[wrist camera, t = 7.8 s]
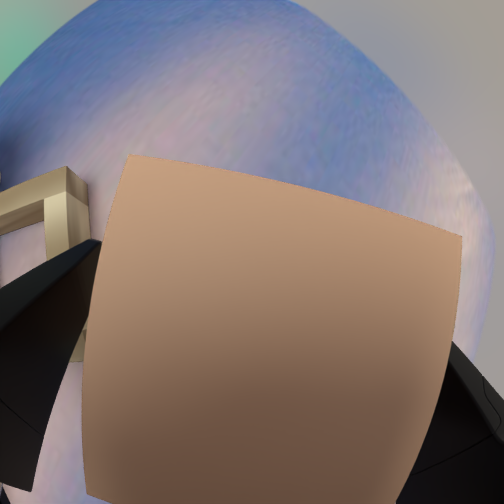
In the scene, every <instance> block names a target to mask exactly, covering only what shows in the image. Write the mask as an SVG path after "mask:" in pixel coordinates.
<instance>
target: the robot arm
mask: <svg viewBox="0 0 504 504" xmlns="http://www.w3.org/2000/svg"><path fill="white" fill-rule="evenodd" d="M101 246H102V242H101V241H98V240H94V239H87V240H85V241H83V242H81V243H79V244H78V245H76V246H74V247H72V248H70V249H68V250H66V251H64V252H63V253H61V254H59V255H57V256H55V257H53V258H52V259H50V260H48V261H46V262H44V263H43V264H41V265H39V266H37V267H36V268H34V269H32V270H30V271H29V272H27V273H25V274H24V275H22V276H20V277H19V278H17V279H15V280H14V281H12V282H10V283H9V284H7V285H5V286H4V287H2V288H1V289H0V504H10V502H9V499H8V497H7V495H6V493H5V491H4V489H3V487H2V486H3V483H4V484H6V485H9V486H12V487H15V488H18V489H22V490H25V491H28V492H31V491H32V487H33V482H34V477H35V472H36V467H37V463H38V459H39V454H40V450H41V447H42V443H43V439H44V435H45V431H46V428H47V424H48V421H49V418H50V414H51V411H52V408H53V405H54V402H55V399H56V396H57V393H58V390H59V388H60V385H61V382H62V379H63V377H64V374H65V371H66V369H67V366H68V363H69V361H70V358H71V356H72V353H73V351H74V349H75V346H76V344H77V341H78V339H79V337H80V334H81V332H82V330H83V328H84V325H85V323H86V321H87V318H88V316H89V310H90V303H91V297H92V291H93V285H94V280H95V275H96V270H97V265H98V260H99V255H100V251H101ZM396 504H504V400H503V399H502V397H501V396H500V395H499V394H498V393H497V392H496V391H495V389H494V388H493V387H492V386H491V385H490V383H489V382H488V381H487V380H486V379H485V377H484V376H482V374H481V373H480V372H479V371H478V369H477V368H476V367H475V366H474V365H473V364H472V362H471V361H470V360H469V359H468V358H467V357H466V356H465V354H464V353H463V352H462V351H461V350H460V349H459V348H458V347H457V346H456V345H455V343H454V342H453V341H452V343H451V348H450V353H449V358H448V362H447V367H446V371H445V375H444V379H443V383H442V386H441V390H440V394H439V397H438V400H437V404H436V407H435V410H434V413H433V416H432V419H431V422H430V425H429V428H428V431H427V433H426V436H425V439H424V441H423V444H422V446H421V449H420V451H419V454H418V456H417V458H416V461H415V463H414V465H413V467H412V470H411V472H410V474H409V476H408V478H407V480H406V482H405V484H404V486H403V488H402V490H401V492H400V494H399V496H398V498H397V500H396Z"/></svg>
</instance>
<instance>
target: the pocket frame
mask: <svg viewBox="0 0 504 504" xmlns="http://www.w3.org/2000/svg"><path fill="white" fill-rule="evenodd" d="M43 220H44V225H45V243H46V256H47V261H48V260H50V259H52V258H53V257H55V256H57V255H59V254H61V253H63V252H64V251H66V250H68V249H70V248H72V247H74V246H76V245H78V244H79V243H81V242H83V241H85V240H87V239H91V235H90V224H89V210H88V191H87V184H86V183H85V182H84V181H83V180H82V179H81V178H79V177H78V176H77V175H76V174H75V173H74V172H73V171H72V170H70V169H69V168H68V167H67V166H64V167H62V168H59V169H56V170H53V171H51V172H48V173H45V174H43V175H40V176H38V177H35V178H33V179H30V180H28V181H25V182H23V183H20V184H18V185H16V186H14V187H11V188H9V189H7V190H5V191H2V192H0V235H3V234H6V233H9V232H11V231H14V230H17V229H20V228H23V227H25V226H28V225H31V224H34V223H37V222H40V221H43ZM88 317H89V316H88ZM87 324H88V318H87V321H86V323H85V325H84V328H83V330H82V332H81V334H80V337H79V339H78V341H77V344H76V346H75V349H74V351H73V353H72V356H71V358H70V361H69V363H70V362H81V361H84V352H85V342H86V333H87Z"/></svg>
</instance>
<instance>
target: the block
mask: <svg viewBox="0 0 504 504" xmlns="http://www.w3.org/2000/svg"><path fill="white" fill-rule="evenodd" d="M461 256H462V236H459V235H457V234H454V233H451V232H449V231H446V230H443V229H440V228H438V227H435V226H432V225H429V224H426V223H423V222H420V221H418V220H415V219H412V218H409V217H406V216H403V215H399V214H396V213H393V212H390V211H387V210H384V209H380V208H377V207H374V206H371V205H367V204H364V203H360V202H357V201H354V200H350V199H346V198H343V197H339V196H336V195H332V194H328V193H325V192H321V191H317V190H313V189H309V188H305V187H301V186H297V185H293V184H289V183H285V182H280V181H276V180H272V179H267V178H263V177H258V176H254V175H249V174H244V173H239V172H234V171H229V170H224V169H219V168H214V167H208V166H203V165H197V164H191V163H186V162H179V161H173V160H167V159H160V158H153V157H146V156H139V155H131V154H129V155H128V158H127V160H126V163H125V166H124V169H123V172H122V175H121V178H120V181H119V184H118V188H117V191H116V194H115V197H114V201H113V204H112V208H111V211H110V215H109V218H108V222H107V226H106V230H105V234H104V238H103V242H102V246H101V251H100V255H99V260H98V265H97V270H96V275H95V280H94V285H93V291H92V297H91V303H90V310H89V317H88V324H87V333H86V342H85V352H84V364H83V380H82V447H83V462H84V474H85V483H86V491H87V494H88V495H91V496H93V497H96V498H98V499H101V500H104V501H107V502H109V503H112V504H394V503H395V502H396V500H397V498H398V496H399V494H400V492H401V490H402V488H403V486H404V484H405V482H406V480H407V478H408V476H409V474H410V472H411V470H412V467H413V465H414V463H415V461H416V458H417V456H418V454H419V451H420V449H421V446H422V444H423V441H424V439H425V436H426V433H427V431H428V428H429V425H430V422H431V419H432V416H433V413H434V410H435V407H436V404H437V400H438V397H439V394H440V390H441V386H442V383H443V379H444V375H445V371H446V367H447V362H448V358H449V353H450V348H451V343H452V338H453V332H454V326H455V320H456V312H457V305H458V296H459V286H460V274H461Z"/></svg>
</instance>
